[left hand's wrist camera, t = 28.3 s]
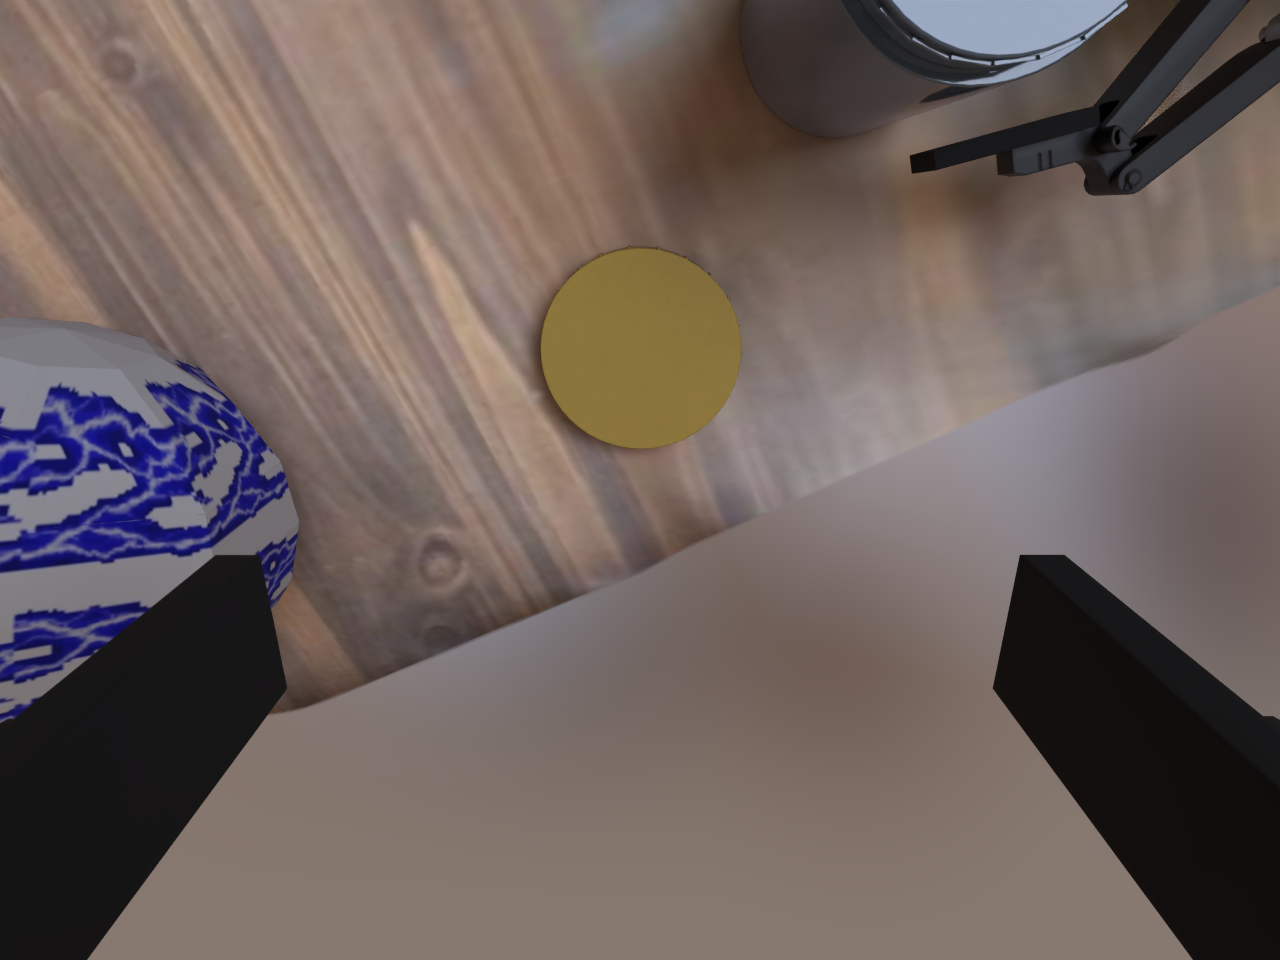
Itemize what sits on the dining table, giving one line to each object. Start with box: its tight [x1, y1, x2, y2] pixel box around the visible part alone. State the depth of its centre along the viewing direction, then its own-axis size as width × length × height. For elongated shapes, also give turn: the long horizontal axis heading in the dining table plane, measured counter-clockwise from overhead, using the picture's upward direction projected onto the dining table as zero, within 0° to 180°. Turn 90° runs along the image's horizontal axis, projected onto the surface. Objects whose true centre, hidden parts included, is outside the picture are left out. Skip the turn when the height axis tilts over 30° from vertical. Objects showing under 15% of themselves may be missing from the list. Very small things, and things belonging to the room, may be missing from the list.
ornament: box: [0, 317, 299, 723], centre depth 34 cm, size 20×20×20 cm
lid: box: [540, 246, 741, 449], centre depth 39 cm, size 11×11×2 cm
